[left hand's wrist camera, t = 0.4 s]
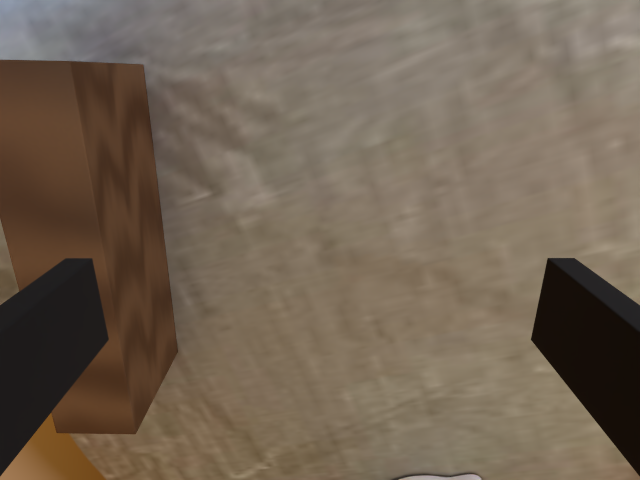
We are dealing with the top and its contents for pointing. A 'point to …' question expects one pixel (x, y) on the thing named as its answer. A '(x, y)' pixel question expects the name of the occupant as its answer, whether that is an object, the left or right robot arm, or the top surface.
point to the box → (91, 221)
